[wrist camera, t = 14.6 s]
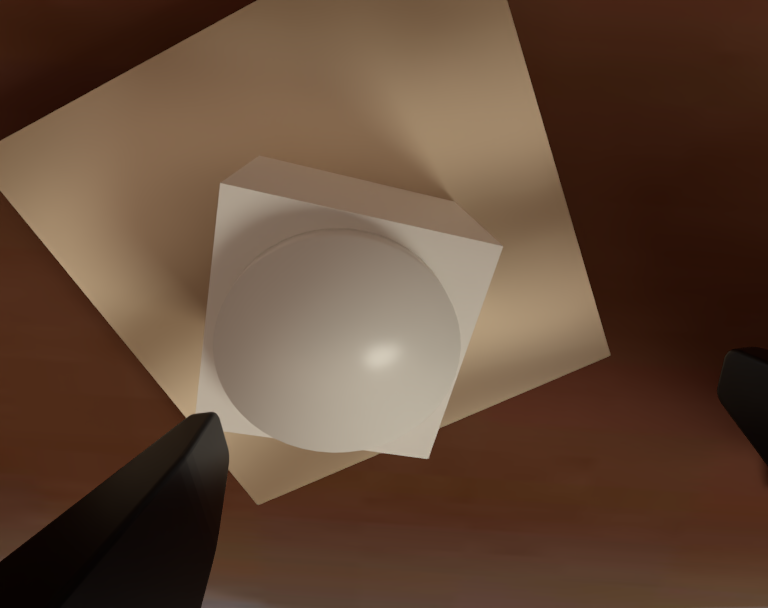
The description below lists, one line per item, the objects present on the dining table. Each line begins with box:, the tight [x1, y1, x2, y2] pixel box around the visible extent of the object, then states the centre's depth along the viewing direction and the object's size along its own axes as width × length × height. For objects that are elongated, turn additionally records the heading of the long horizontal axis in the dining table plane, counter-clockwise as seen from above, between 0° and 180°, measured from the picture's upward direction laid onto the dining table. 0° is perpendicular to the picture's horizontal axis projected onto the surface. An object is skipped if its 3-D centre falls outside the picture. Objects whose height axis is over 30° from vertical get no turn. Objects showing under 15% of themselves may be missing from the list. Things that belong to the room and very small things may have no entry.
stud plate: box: [0, 0, 611, 505], centre depth 13 cm, size 14×14×4 cm
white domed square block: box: [195, 155, 503, 459], centre depth 12 cm, size 6×6×5 cm
